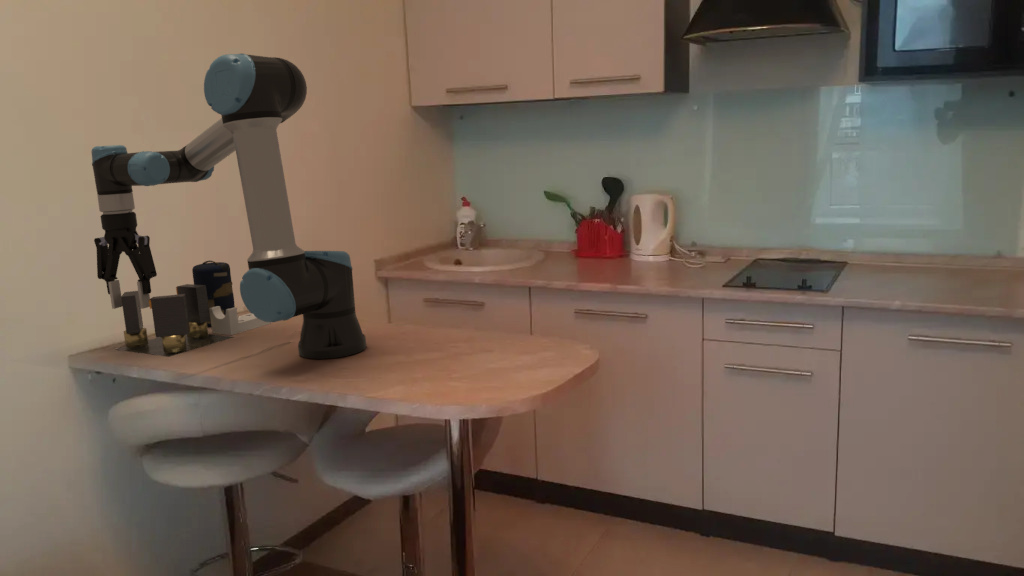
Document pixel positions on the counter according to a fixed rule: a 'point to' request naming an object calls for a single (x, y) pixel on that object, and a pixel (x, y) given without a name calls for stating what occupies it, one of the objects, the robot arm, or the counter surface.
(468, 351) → the counter surface
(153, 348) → the level plate
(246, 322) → the bracket
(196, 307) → the knob right
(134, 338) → the brass knob with block
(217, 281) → the canister
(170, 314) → the dark grey block
